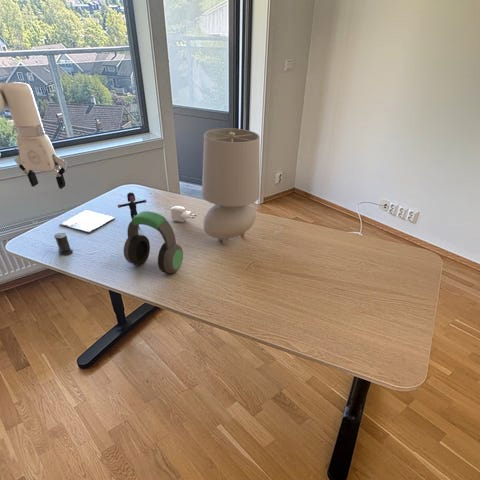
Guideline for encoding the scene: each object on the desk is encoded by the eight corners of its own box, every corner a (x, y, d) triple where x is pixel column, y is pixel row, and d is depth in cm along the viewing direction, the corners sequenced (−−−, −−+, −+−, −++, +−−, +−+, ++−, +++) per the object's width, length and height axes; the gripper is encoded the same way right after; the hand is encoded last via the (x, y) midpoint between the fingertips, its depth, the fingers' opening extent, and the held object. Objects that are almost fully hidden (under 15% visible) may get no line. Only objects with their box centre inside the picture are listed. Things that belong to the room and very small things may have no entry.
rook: (59, 256, 128) (53, 239, 123) (59, 250, 131) (53, 233, 127) (72, 254, 129) (67, 237, 125) (72, 248, 133) (67, 231, 128)
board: (89, 233, 142) (88, 232, 141) (59, 225, 146) (59, 223, 146) (114, 218, 153) (114, 217, 152) (86, 211, 157) (86, 209, 157)
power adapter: (198, 221, 154) (197, 209, 150) (193, 226, 151) (192, 213, 147) (175, 217, 157) (174, 204, 153) (170, 221, 153) (169, 208, 149)
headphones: (185, 265, 127) (182, 213, 114) (171, 280, 119) (165, 227, 106) (141, 254, 131) (132, 203, 118) (124, 268, 124) (113, 215, 110)
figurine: (124, 232, 144) (117, 197, 134) (121, 228, 146) (113, 193, 136) (151, 226, 149) (146, 191, 139) (148, 222, 151) (143, 188, 141)
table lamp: (239, 223, 154) (244, 123, 128) (268, 244, 141) (279, 137, 114) (193, 235, 144) (188, 128, 118) (219, 259, 131) (219, 145, 105)
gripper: (-4, 131, 105) (18, 188, 116) (51, 135, 104) (68, 192, 115) (11, 126, 110) (30, 180, 122) (63, 129, 109) (78, 184, 121)
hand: (48, 186), depth 118 cm, fingers open, 9 cm apart
